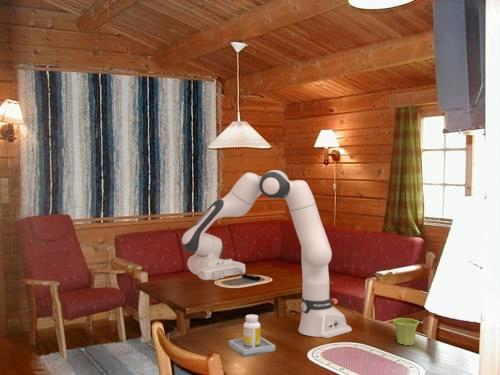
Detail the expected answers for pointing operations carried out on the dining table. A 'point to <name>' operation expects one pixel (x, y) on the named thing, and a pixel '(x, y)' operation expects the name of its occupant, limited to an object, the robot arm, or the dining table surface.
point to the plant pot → (405, 330)
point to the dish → (264, 348)
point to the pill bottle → (251, 332)
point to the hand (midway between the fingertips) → (233, 274)
